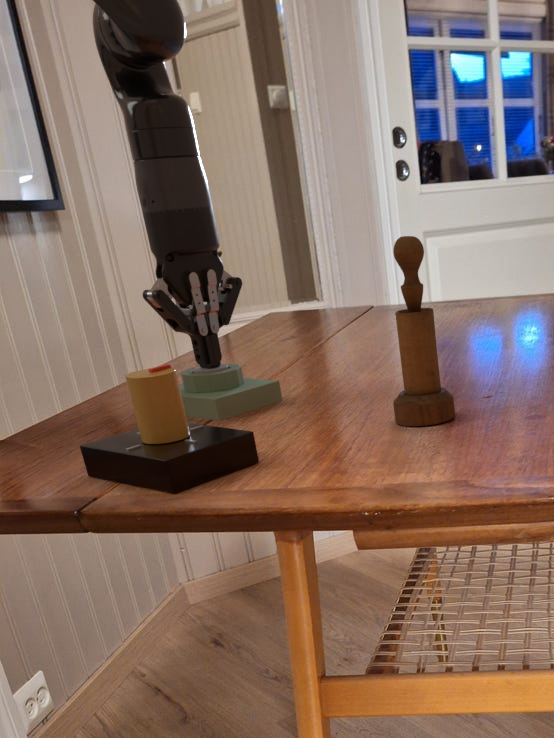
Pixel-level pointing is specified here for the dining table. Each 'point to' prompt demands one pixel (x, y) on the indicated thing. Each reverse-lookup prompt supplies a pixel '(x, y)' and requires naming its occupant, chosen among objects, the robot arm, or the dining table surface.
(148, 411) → the lock knob
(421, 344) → the mortar and pestle
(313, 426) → the dining table surface
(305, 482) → the dining table surface
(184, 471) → the panel
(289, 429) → the dining table surface
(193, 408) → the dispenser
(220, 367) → the grey push button
